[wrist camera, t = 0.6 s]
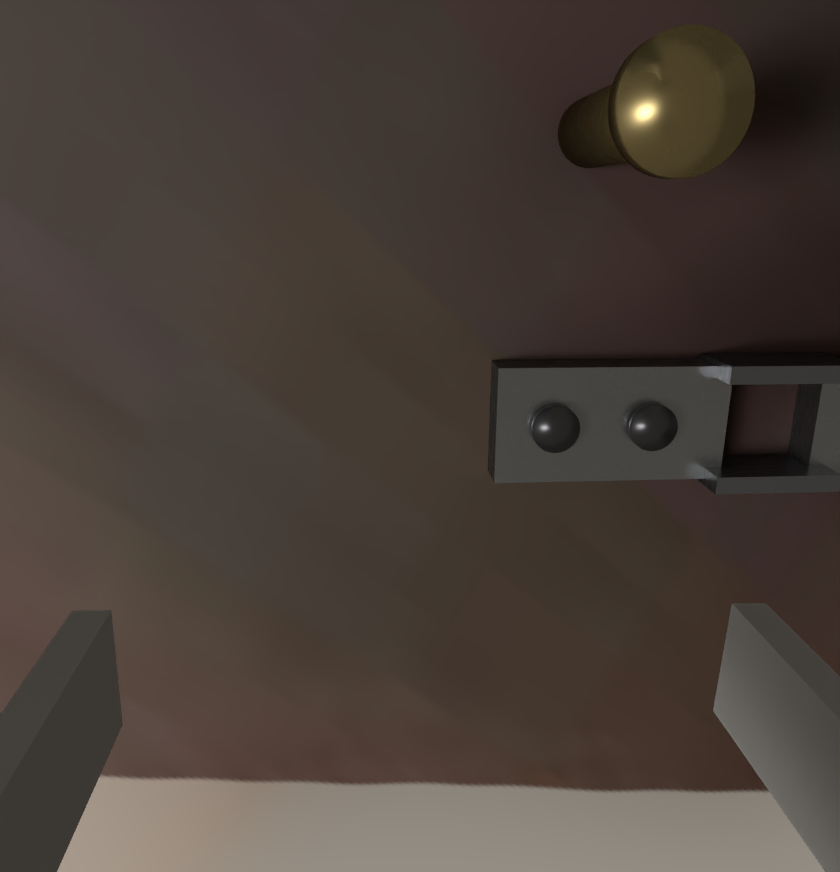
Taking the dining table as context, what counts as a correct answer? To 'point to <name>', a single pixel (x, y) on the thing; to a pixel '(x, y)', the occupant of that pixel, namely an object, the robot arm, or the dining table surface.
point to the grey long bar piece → (660, 421)
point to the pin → (666, 107)
